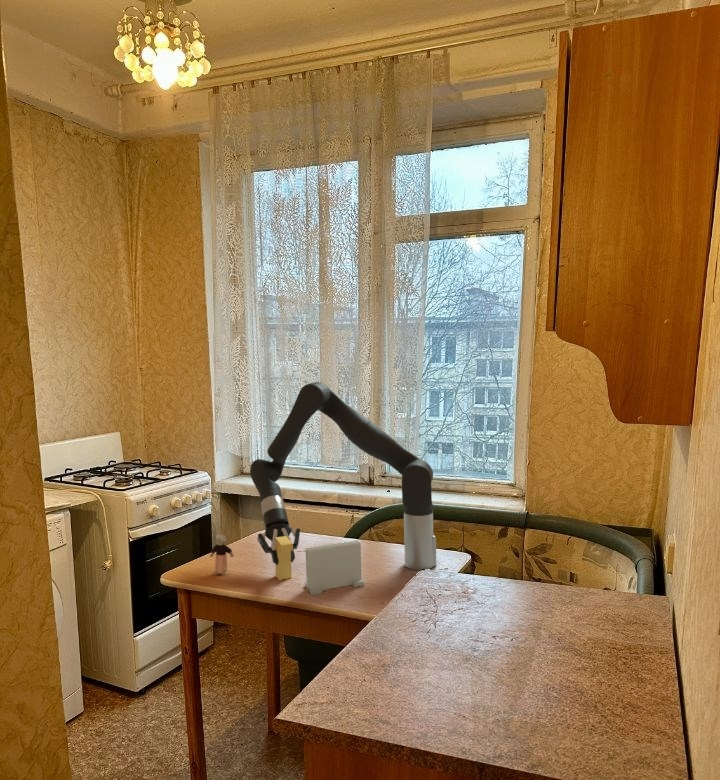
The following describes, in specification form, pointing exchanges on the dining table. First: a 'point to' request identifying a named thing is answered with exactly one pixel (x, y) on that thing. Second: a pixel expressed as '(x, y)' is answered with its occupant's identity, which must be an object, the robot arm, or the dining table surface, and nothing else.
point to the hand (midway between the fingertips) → (284, 562)
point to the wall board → (333, 566)
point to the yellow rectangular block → (283, 557)
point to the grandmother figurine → (221, 555)
